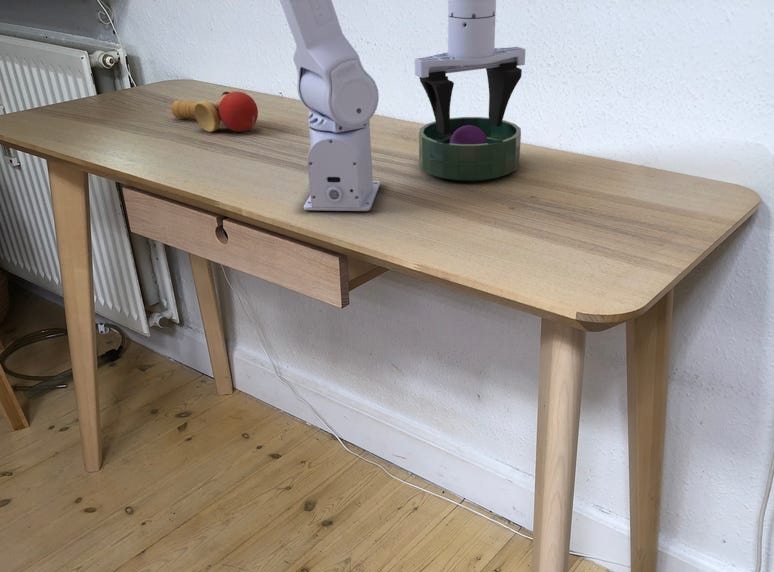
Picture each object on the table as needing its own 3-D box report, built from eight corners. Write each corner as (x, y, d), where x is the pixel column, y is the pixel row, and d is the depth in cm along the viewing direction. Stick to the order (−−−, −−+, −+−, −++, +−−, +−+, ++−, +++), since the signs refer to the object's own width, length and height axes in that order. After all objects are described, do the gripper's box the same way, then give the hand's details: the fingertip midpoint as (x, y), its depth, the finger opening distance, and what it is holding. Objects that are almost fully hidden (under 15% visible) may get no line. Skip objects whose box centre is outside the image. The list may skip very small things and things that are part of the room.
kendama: (160, 132, 125) (233, 133, 115) (155, 92, 123) (228, 88, 113) (198, 130, 131) (270, 130, 120) (194, 91, 129) (267, 88, 118)
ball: (487, 169, 99) (486, 131, 96) (449, 170, 100) (447, 133, 97) (488, 156, 103) (487, 119, 100) (451, 157, 104) (449, 121, 101)
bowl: (519, 185, 95) (521, 145, 93) (415, 184, 97) (414, 145, 94) (518, 152, 106) (520, 116, 104) (424, 152, 108) (423, 116, 105)
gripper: (507, 6, 97) (502, 114, 104) (403, 16, 92) (406, 128, 100) (537, 13, 91) (529, 126, 99) (428, 24, 87) (429, 142, 94)
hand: (469, 128), depth 99 cm, fingers open, 7 cm apart
